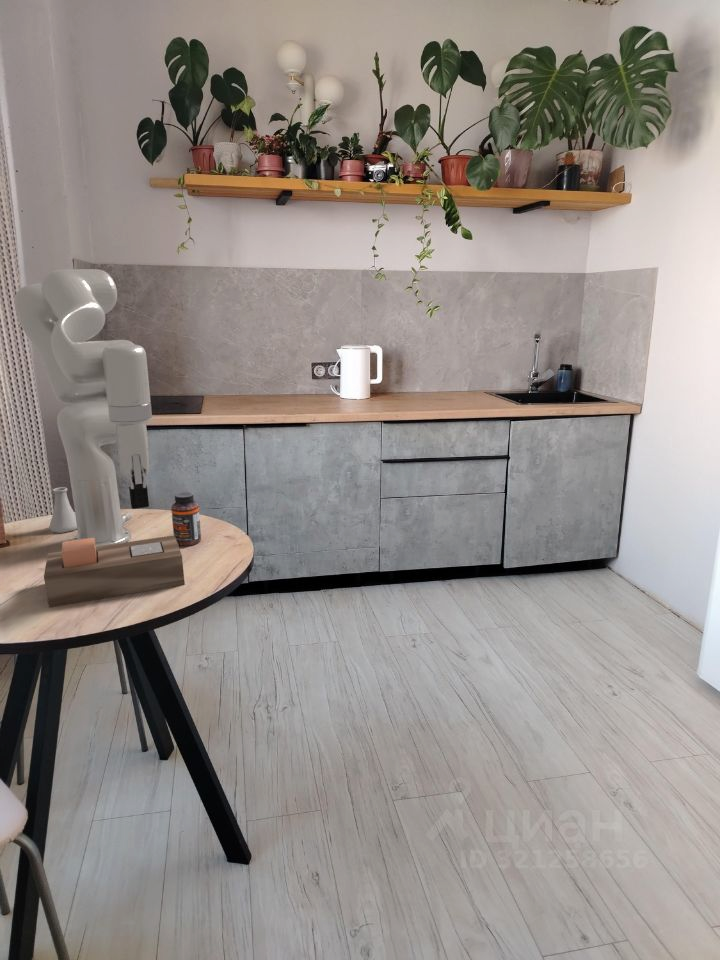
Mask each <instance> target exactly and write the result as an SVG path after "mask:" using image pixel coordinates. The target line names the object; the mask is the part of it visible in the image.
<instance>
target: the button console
mask: <svg viewBox="0 0 720 960" xmlns="http://www.w3.org/2000/svg"><path fill="white" fill-rule="evenodd" d="M157 542H160V544H161V547H162V551H163V553H159V554H152V555H145V556H139V557H132V553H131V546H136V545H143V544H150V543H157ZM179 546H180V545H178V543H177V541H176V538H175V535H174V534H173V535H168V536H167V535H166V536H159V537H154V538H153V537H152V538H147V539H146V538H145V539H140V540H139V539H138V540H133V541H127V542H124V543H117V544H110V545H103V546H96V554H97V562H98V563H93V564H86V565H79V566H73V567H66V568H64V564H63V558H62V550H61V551H56V552H48V553H47V555H46V561H45V568H44V574H43V580H44V586H45V593H46V599H47V604H48V608H53V607H59V606H65V605H71V604H78V603H83V602H88V601H89V602H90V601H95V600H102V599H106V598H107V599H108V598H113V597H118V596H125V595H130V594H135V593H142V592H147V591H153V590H154V591H155V590H160V589H165V588H171V587H172V588H173V587H177V586H183V585H186V584H185V582H186V581H185V574H184V563H183V555H182V552H181V549H180V547H179Z"/></svg>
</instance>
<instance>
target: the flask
mask: <svg viewBox="0 0 720 960" xmlns="http://www.w3.org/2000/svg"><path fill="white" fill-rule="evenodd" d="M52 492H53V494H54V506H53V510H52V516H51V519H50V523H49V527H48V530H49V531H50V532H51V533H56V534H57V533H58V534H61V533H66V532H73V531H77V523H76V516H75V510H73V509H74V508H72V506H71V504H70V501H69V498H68V495H67V494H68V493H67V492H68V488H67V487H66V486H65V487H64V486H61V487H55V488H52Z"/></svg>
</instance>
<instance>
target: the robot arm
mask: <svg viewBox="0 0 720 960" xmlns="http://www.w3.org/2000/svg"><path fill="white" fill-rule="evenodd" d="M117 290H118V289H117V285H116V283H115V281H114V279H113V277H111V275H110V274H109V273H108V272H106V271H104V270H102V269H97V268H77V269H76V268H64V269H63V268H62V269H54V270H53V271H50V272H49V273H47V274H46V275H44V277H43V279H42V281H41V283H40V282H39V283H33V284H28V285H24V286H22V287H20V288H19V289H18V290H17V292H16V293H15V296H14V307H15V311H16V316H17V319H18V321H19V325H21V326H20V327H21V328H22V330H23V332H24V334H25V335H26V337H27V338H28V339H29V341H30V342H31V344H32V345H33V346H34V347H35V349H36V351H37V352H38V355H39V358H40V360H41V362H42V365H43V368H44V371H45V374H46V377H47V380H48V381H49V382H48V383H49V386H50V387H51V389H52V393H53V395H54V397H55V398H56V400H57V401H59V402H60V403H62V404H65V405H67V406H65V407H63V408H62V409H61V410H60V411H59V412H58V414H57V417H56V422H57V423H56V425H57V429H58V432H59V436H60V439H61V442H62V446H63V448H64V452H65V457H66V460H67V467H68V474H69V480H70V482H69V483H70V486H71V495H72V500H73V509H74V513H75V516H76V523H77V529H76V531H77V534H76V535H74V537H72V538H71V541H73V540H80V539H87V538H94V540H95V547H96V546H103V545H110V544H117V543H124V542H129V540H130V539H131V536H132V535H131V534H132V533H131V531H130V530H129V529H127V528H126V527H125V526H124V525H125V524H126V523H127V522H129V521H130V520H131V519H132V518H133V517H132V514H131V513H130V512H124V513H123V514H122V512H121V505H120V496H119V488H118V487H119V486H118V481H117V474H116V473H117V472H116V467H115V463H114V461H113V459H112V458H111V456H110V455H108V454H107V453H106V452H105V451H103V450H102V448H101V446H104V445H108V444H115V443H117V444H116V445H117V453H118V461H119V462H118V463H119V469H120V474H121V477H122V478H124V479H125V478H126V477H128V478H129V487H128V489H129V500H130V506H131V509H133V510H136V509H144V508H148V507H150V503H149V494H148V492H149V491H148V485H147V483H146V482H147V481H146V476H148V475H149V473H150V464H149V463H150V462H149V443H148V431H147V423H149V422H152V421H153V413H152V403H151V402H152V401H151V392H150V381H149V370H148V361H147V360H148V359H147V353H146V350H145V348H144V347H143V346H142V345H139V344H135V343H134V342H132V341H131V340H128V339H113V340H112V339H111V340H92V341H88V340H90V339H92V338H94V337H95V336H97V335H98V334H99V333H100V332H101V331H102V330H103V328H104V326H105V322H106V314H108V313H109V312H110V311H112V310H113V309H114V308H115V306H116V304H117V300H118V291H117Z"/></svg>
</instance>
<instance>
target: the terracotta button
mask: <svg viewBox="0 0 720 960" xmlns="http://www.w3.org/2000/svg"><path fill="white" fill-rule="evenodd" d="M61 551H62V558H63V564H64V568H66V567H73V566H79V565H86V564H93V563H98V562H97V554H96V547H95V540H94V538H87V539H80V540H73V541H72V540H67V541H66V540H65V541H62V544H61Z"/></svg>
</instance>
